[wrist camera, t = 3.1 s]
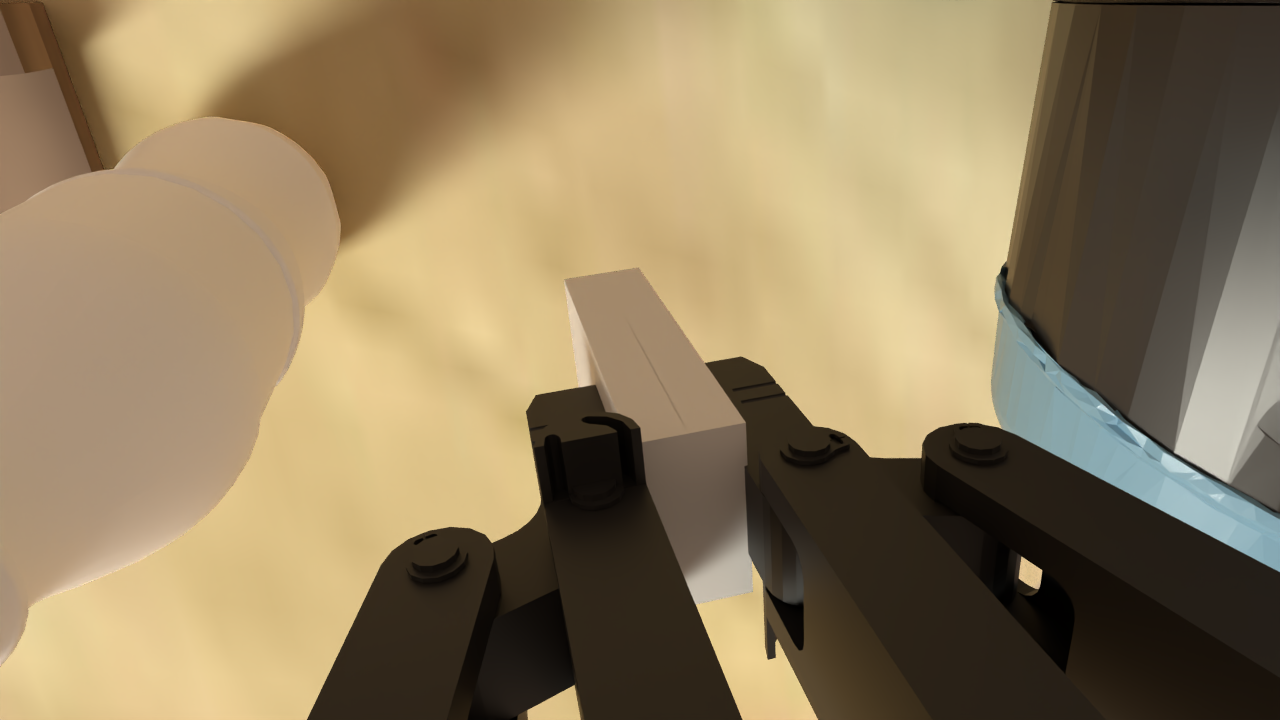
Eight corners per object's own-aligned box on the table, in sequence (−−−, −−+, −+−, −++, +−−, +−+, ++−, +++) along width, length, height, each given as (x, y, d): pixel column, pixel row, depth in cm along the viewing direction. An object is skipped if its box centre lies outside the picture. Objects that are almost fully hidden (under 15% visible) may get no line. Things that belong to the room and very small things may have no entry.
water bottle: (180, 69, 29) (-733, 327, 7) (378, 163, 32) (199, 575, 9) (117, 247, 31) (-759, 914, 9) (308, 321, 33) (21, 983, 11)
